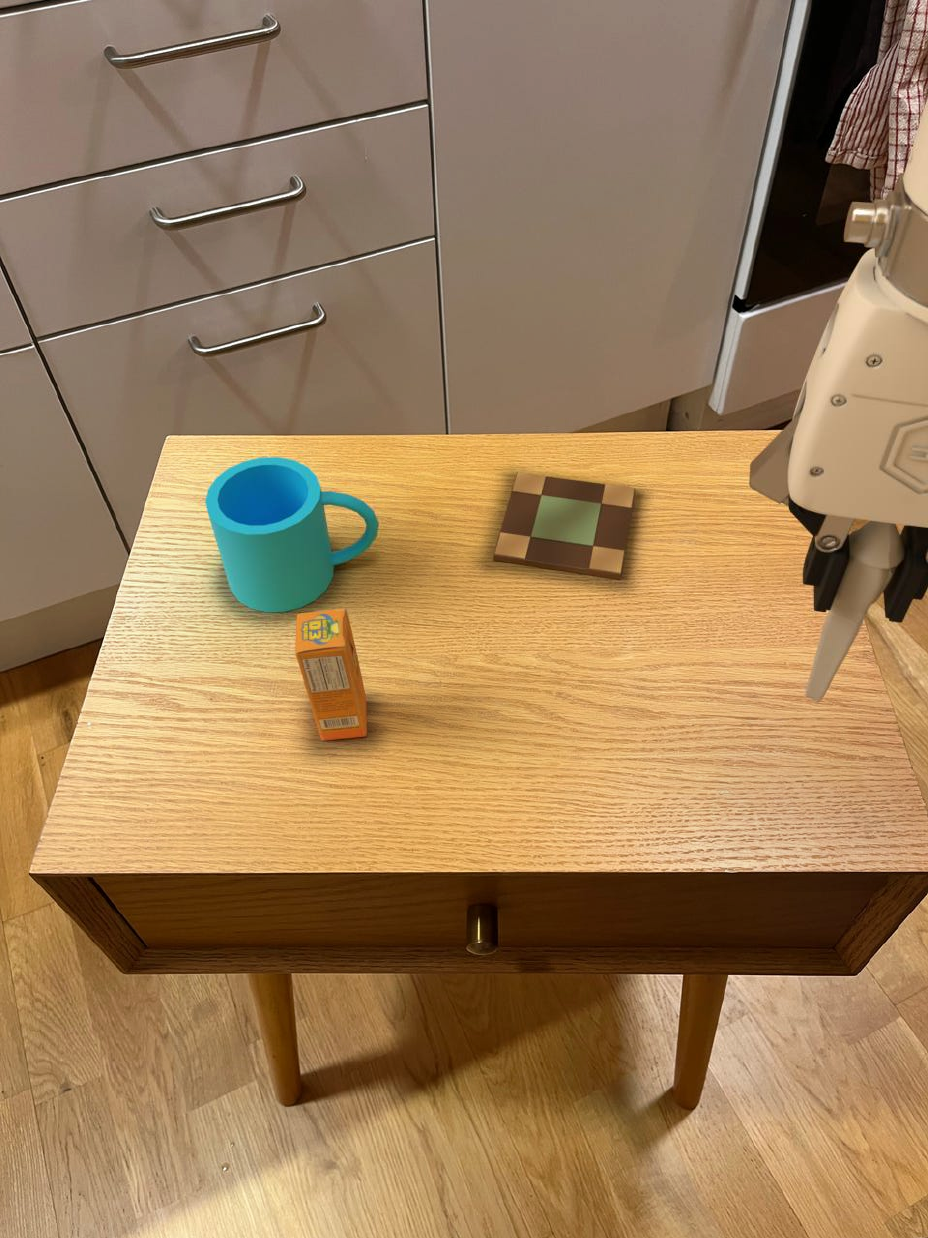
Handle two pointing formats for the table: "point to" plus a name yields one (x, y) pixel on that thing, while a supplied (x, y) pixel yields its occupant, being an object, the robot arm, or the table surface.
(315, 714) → the supplement box
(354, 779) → the table surface
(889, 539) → the beige tapered rod
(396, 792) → the table surface
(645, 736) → the table surface
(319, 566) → the mug
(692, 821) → the table surface
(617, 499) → the board
